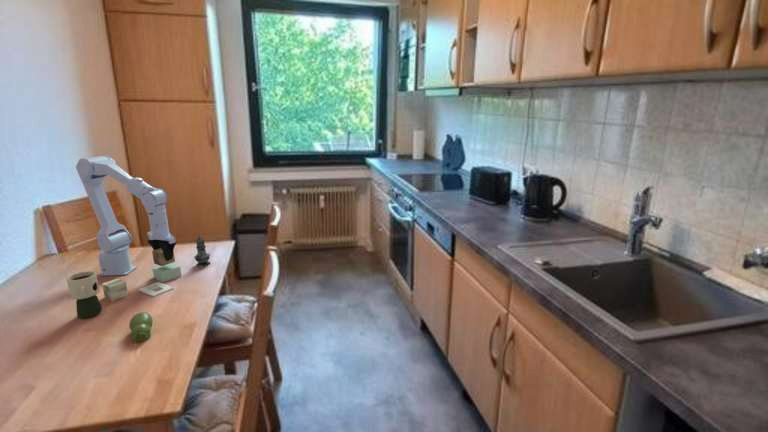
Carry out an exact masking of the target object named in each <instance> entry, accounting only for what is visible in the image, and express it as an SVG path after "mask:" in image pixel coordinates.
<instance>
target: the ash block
mask: <svg viewBox="0 0 768 432" xmlns="http://www.w3.org/2000/svg"><path fill="white" fill-rule="evenodd" d="M101 285H102V290H103V294H104V295H103V296H104V298H105V299H108V300H109V301H111V302H113V301H116V300H119V299H121V298H125V297H127V296H129V292H128V287H127V281H126V280H123V279H121V278H115V279H112V280H109V281H106V282H103V283H101Z"/></svg>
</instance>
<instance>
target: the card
mask: <svg viewBox="0 0 768 432" xmlns="http://www.w3.org/2000/svg"><path fill="white" fill-rule="evenodd" d="M171 290H174V287H172V286H170V285H168V284H165V283H163V282H161V281H157V282H154V283H151V284H149V285H146V286H144V287H141V288H138V291H139V292H142V293H144V294H146V295H148V296H151V297H153V298H155V297H157V296H159V295H160V294H161V295H162V294H164V293H166V292H168V291H169V292H170V291H171Z"/></svg>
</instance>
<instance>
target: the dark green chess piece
mask: <svg viewBox="0 0 768 432" xmlns="http://www.w3.org/2000/svg"><path fill="white" fill-rule="evenodd" d="M195 240H196V242H195V243H196V247H195V249H196V251H197V253H196V255H195V256H193V257H194V259H195V261H196V262H197V263H196V264H195V266H196V267H199V268H203V267H208V266H210V265H211V262H210V261H209V260H210V257H211V254H210V253H207V251H206V247H207V246H206V244H205V239H204V238H203V237H201V236H200V235H199V236H198V238H196V239H195Z"/></svg>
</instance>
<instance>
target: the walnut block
mask: <svg viewBox="0 0 768 432" xmlns="http://www.w3.org/2000/svg"><path fill="white" fill-rule="evenodd" d="M174 252H175V251H173V258H172V259H171V260H168V261H166V260H165V257H164V254H163V251H162V249H161V248H159V249H156V250H153V249H152V250H151V253H152V259H153V264H155V265H157V266H164V265H167V264H170V263H175V262H176V259H175V258H176V257H175V253H174Z"/></svg>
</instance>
